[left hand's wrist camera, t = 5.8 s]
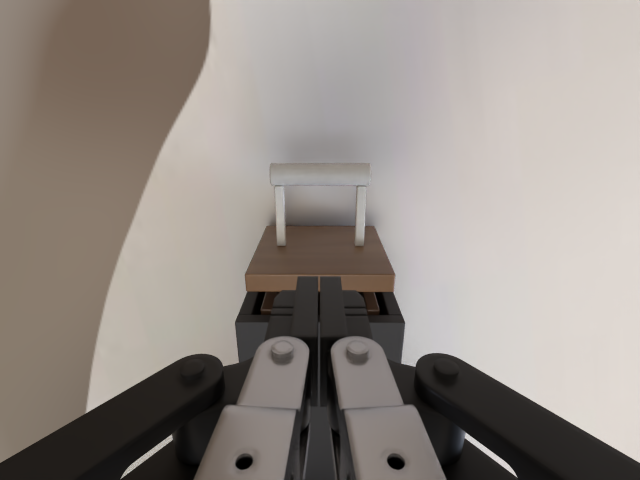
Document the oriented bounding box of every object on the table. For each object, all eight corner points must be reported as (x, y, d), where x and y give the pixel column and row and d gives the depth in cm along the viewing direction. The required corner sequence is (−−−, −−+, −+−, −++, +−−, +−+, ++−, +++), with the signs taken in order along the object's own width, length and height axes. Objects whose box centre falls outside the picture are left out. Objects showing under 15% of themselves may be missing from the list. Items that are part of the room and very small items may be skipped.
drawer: (262, 154, 27) (236, 176, 19) (378, 154, 27) (404, 177, 19) (276, 398, 36) (262, 487, 27) (364, 398, 36) (377, 488, 27)
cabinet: (262, 251, 31) (234, 322, 21) (378, 251, 31) (405, 322, 21) (273, 419, 38) (255, 532, 28) (367, 419, 38) (384, 533, 28)
